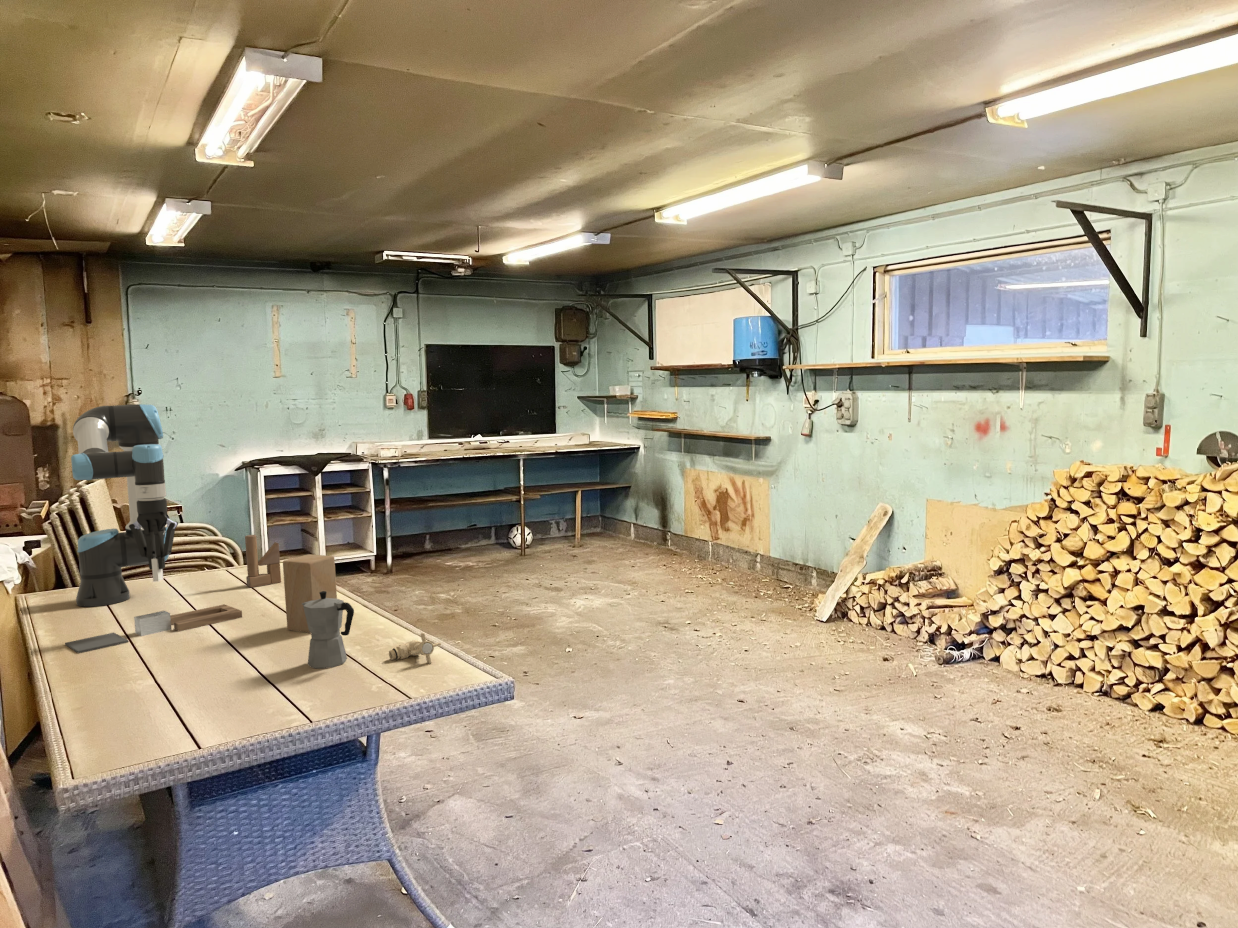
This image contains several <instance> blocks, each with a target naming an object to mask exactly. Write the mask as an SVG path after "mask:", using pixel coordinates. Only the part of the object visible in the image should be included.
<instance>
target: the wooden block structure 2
mask: <svg viewBox="0 0 1238 928" xmlns="http://www.w3.org/2000/svg"><path fill="white" fill-rule="evenodd" d="M244 540H245V541H244V542H245V556H246V568H247V570H246V571H247V576H246V578H245V579H246V586H247V587H248V588H249V589H251V588H256V587H263V586H268V585H274V584H280V583H282V575H281V573H282V572H281V561H280V560H281V559H280V558H281V557H280V545H279V543H278V542H275V541H274V542H273V544H271V546H270V547H269V548H268V550H267V551H266V552H265V553H264V555H262V557H261V558H260V559H259V558H258V557H259V556H258V543H257V541H258V540H257V535H256V534H248V535H245V536H244ZM261 566H266V573H260V572H259V571H260V569H259V567H261Z"/></svg>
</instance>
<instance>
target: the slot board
mask: <svg viewBox="0 0 1238 928" xmlns="http://www.w3.org/2000/svg"><path fill="white" fill-rule="evenodd" d="M170 618H171V626H173V627H174V630H176V631H177V632H182V631H187V630H191V629H196V628H200V627H204V626H209V625H212V624H217V623H222V622H227V621H231V620H236V619H241V618H243V610H241V609H238V608H235V607H233V606H231V605H227V604H220V605H215V606H209V607H206V608H200V609H196V610H195V609H194V610H190V611H186V612H182V613H177V614H170Z"/></svg>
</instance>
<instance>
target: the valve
mask: <svg viewBox="0 0 1238 928" xmlns="http://www.w3.org/2000/svg"><path fill="white" fill-rule="evenodd" d="M420 638H421V641H420V640H416V639H415V640H414V639H412V640H410V641H408V642H406V643H401V644H398V645H397V646H396V647H394V648H392V649H391V650H389V651H388V657H389V659H390V660H391V661H394V660H403V659H404V660H405V659H408V657H410V656H414V657H415V656H419V655H421V656H425V658H426V663H427V664H429V665H430V664H432V660H431V654H433V652H434V650H435V648H436V647H439V646H441V645H442V643H441V642H436V643H433V642H431V641H428V640H427V638H426V634H425V632H421V633H420Z"/></svg>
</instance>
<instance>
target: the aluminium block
mask: <svg viewBox="0 0 1238 928" xmlns="http://www.w3.org/2000/svg"><path fill="white" fill-rule="evenodd" d="M170 615H171V613H170V612H168V611H166V610H161V611H157V612H156V611H155V612H151V613H147V614H142V615H135V616H133V620H134V621H133V622H134V632H135V635H138V636H140V637H145V636H149V635H154V634H157V633H163V632H167V631H171V630H172V625H171V618H170Z"/></svg>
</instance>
